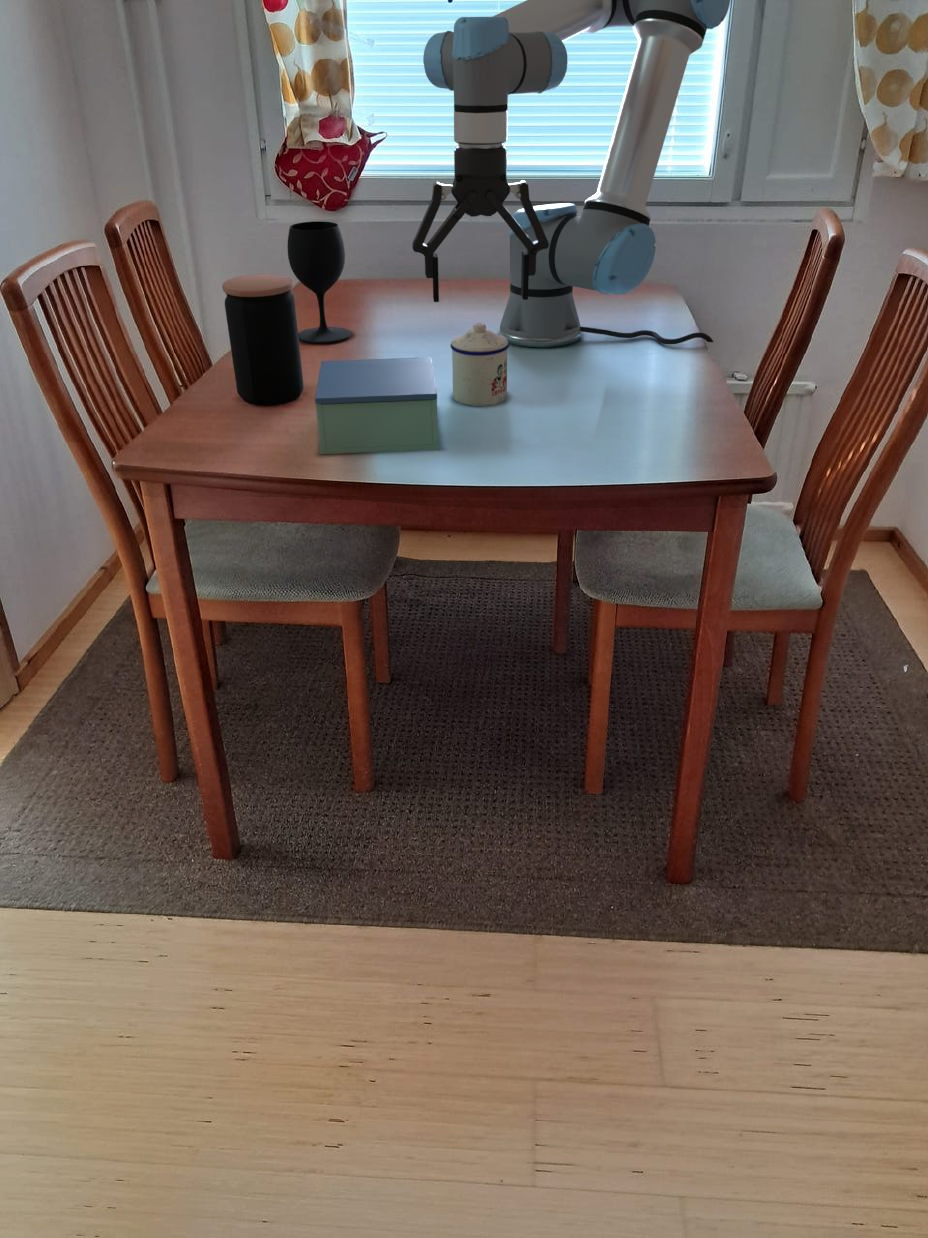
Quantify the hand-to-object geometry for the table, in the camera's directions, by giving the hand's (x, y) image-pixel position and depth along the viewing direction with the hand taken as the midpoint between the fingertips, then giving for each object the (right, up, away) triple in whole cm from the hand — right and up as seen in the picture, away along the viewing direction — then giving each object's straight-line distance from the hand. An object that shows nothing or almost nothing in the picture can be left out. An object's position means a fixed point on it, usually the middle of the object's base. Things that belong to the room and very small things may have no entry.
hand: (480, 298), depth 147 cm
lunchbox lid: (-15, -15, -9) cm, 23 cm away
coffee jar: (-34, -13, +9) cm, 37 cm away
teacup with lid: (0, -13, +8) cm, 15 cm away
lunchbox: (-15, -21, -4) cm, 26 cm away
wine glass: (-29, +5, +37) cm, 48 cm away
